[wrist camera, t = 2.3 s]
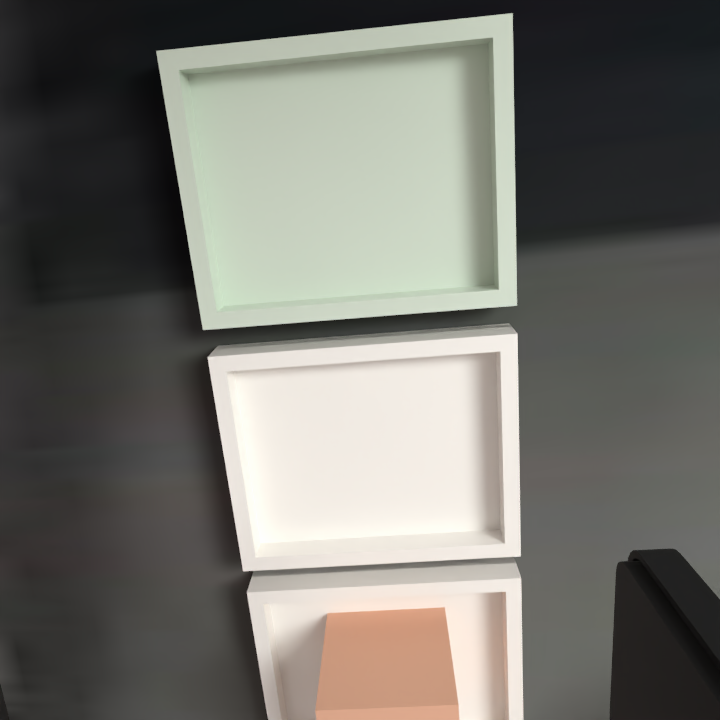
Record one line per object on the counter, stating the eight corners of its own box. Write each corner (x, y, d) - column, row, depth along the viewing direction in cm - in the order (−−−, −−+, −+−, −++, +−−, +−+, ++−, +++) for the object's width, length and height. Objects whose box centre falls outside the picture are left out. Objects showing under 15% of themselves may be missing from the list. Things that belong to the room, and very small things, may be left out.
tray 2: (217, 345, 24) (207, 356, 22) (509, 323, 23) (517, 333, 22) (250, 549, 26) (243, 571, 25) (513, 534, 26) (520, 556, 24)
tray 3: (254, 569, 27) (246, 592, 25) (513, 555, 26) (521, 578, 25) (280, 733, 29) (275, 762, 28) (516, 724, 29) (523, 753, 27)
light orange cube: (323, 613, 27) (310, 710, 22) (444, 607, 26) (458, 704, 21) (335, 705, 28) (325, 816, 23) (450, 701, 28) (464, 812, 23)
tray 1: (171, 59, 21) (156, 51, 19) (503, 24, 20) (512, 13, 19) (213, 320, 23) (202, 330, 22) (508, 296, 23) (516, 305, 21)
